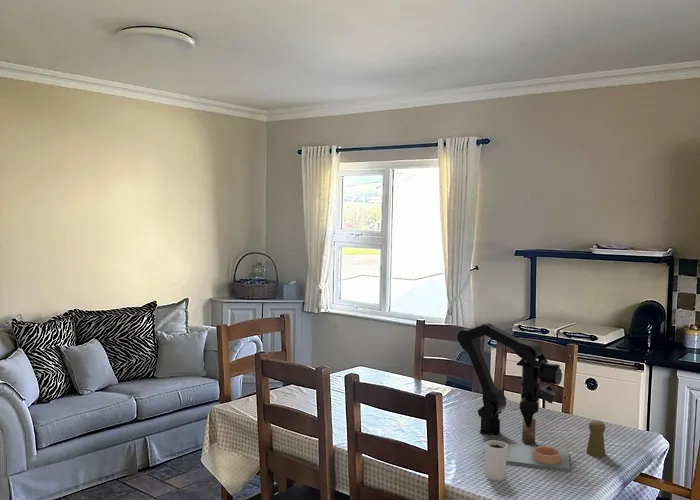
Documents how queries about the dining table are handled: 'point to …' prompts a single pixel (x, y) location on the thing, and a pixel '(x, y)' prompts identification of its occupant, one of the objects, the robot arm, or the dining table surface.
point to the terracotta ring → (546, 455)
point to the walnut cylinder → (528, 432)
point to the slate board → (525, 458)
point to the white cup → (496, 459)
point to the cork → (596, 439)
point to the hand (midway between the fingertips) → (528, 422)
